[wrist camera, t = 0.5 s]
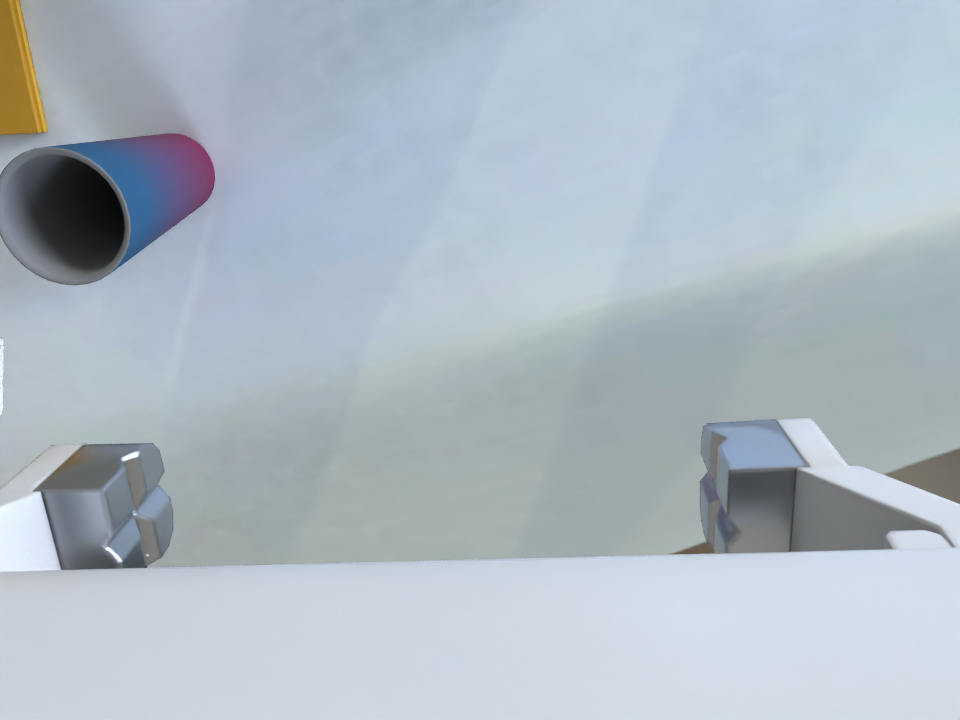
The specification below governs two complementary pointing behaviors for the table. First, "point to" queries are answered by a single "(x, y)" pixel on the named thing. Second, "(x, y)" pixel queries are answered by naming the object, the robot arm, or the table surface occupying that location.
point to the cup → (98, 202)
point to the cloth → (17, 76)
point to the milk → (1, 374)
